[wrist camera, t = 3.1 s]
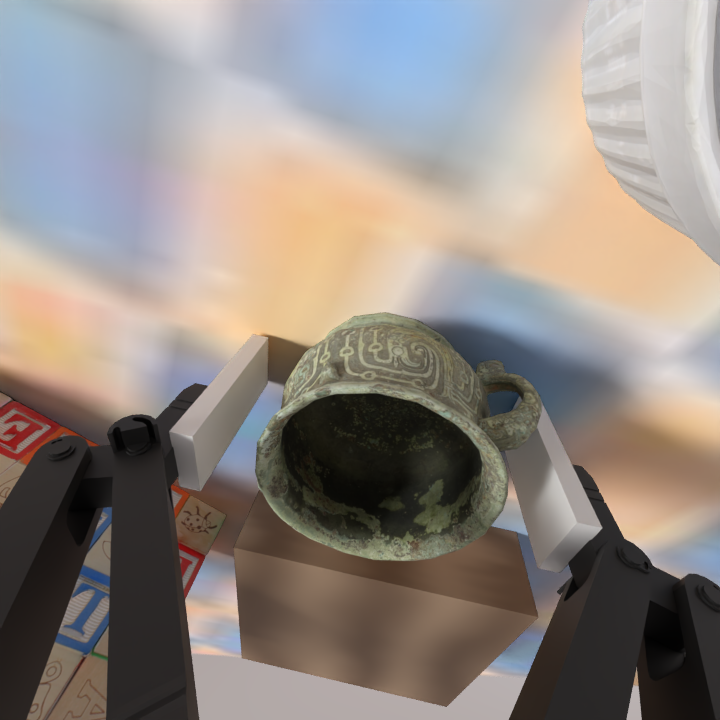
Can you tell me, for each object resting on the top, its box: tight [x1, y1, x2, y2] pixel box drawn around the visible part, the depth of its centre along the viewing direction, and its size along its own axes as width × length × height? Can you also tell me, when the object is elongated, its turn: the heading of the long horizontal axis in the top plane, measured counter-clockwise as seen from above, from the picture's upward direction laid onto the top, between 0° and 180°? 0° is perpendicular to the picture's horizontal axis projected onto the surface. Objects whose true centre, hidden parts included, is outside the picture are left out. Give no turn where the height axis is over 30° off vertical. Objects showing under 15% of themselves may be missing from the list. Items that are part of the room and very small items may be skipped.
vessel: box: [255, 312, 542, 561], centre depth 14 cm, size 12×9×6 cm
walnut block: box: [234, 490, 538, 707], centre depth 24 cm, size 16×16×5 cm
